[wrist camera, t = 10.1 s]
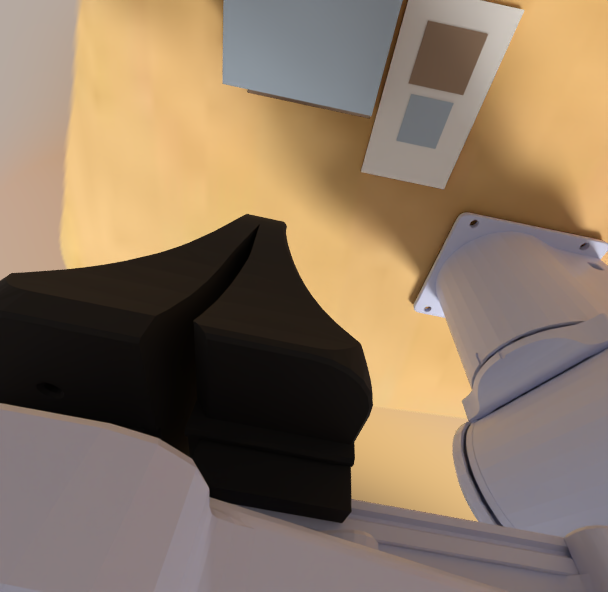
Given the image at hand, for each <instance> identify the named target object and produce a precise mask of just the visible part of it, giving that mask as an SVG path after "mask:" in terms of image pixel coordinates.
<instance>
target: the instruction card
mask: <svg viewBox="0 0 608 592" xmlns="http://www.w3.org/2000/svg"><path fill="white" fill-rule="evenodd" d="M523 12H524V10H522V9H518V8H513V7H509V6H504V5H500V4H496V3H491V2H487V1H482V0H408V2H407V5H406V9H405V13H404V16H403V20H402V24H401V27H400V31H399V34H398V38H397V42H396V45H395V49H394V53H393V56H392V60H391V64H390V67H389V71H388V74H387V78H386V82H385V85H384V89H383V93H382V96H381V100H380V104H379V107H378V111H377V114H376V118H375V122H374V125H373V129H372V133H371V136H370V140H369V144H368V147H367V151H366V154H365V158H364V162H363V165H362V169H361V172H363V173H368V174H373V175H377V176H382V177H387V178H392V179H397V180H401V181H406V182H411V183H416V184H420V185H425V186H430V187H435V188H439V189H444V188H445V186H446V184H447V181H448V179H449V177H450V175H451V172H452V170H453V168H454V166H455V164H456V161H457V159H458V157H459V155H460V152H461V150H462V148H463V146H464V143H465V141H466V139H467V137H468V135H469V132H470V130H471V128H472V126H473V123H474V121H475V119H476V117H477V115H478V112H479V110H480V108H481V106H482V103H483V101H484V99H485V97H486V95H487V92H488V90H489V88H490V86H491V83H492V81H493V79H494V77H495V75H496V72H497V70H498V68H499V66H500V63H501V61H502V59H503V57H504V55H505V52H506V50H507V48H508V46H509V43H510V41H511V39H512V37H513V34H514V32H515V30H516V28H517V26H518V23H519V21H520V19H521V17H522V14H523Z"/></svg>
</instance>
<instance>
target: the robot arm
mask: <svg viewBox="0 0 608 592" xmlns="http://www.w3.org/2000/svg"><path fill="white" fill-rule="evenodd" d="M473 220H477V222H476V223H475V224H474V225H470V223H471V221H473ZM286 228H287V226H286V224H285V223H284V222H282V221H277V220H273V219H268V218H263V217H259V216H254V215H249V214H246V215H244V216H242V217H240V218H238V219H236V220H234V221H233V222H231V223H229V224H227V225H225V226H223V227H222V228H220V229H218V230H216V231H214V232H212V233H210V234H207V235H205V236H203V237H201V238H199V239H196V240H194V241H192V242H190V243H187V244H185V245H182V246H179V247H176V248H173V249H170V250H167V251H164V252H161V253H157V254H153V255H149V256H145V257H140V258H136V259H132V260H127V261H123V262H117V263H111V264H105V265H99V266H91V267H84V268H75V269H66V270H52V271H39V272H26V273H11V274H9V275H8V276H7V277H5V278H4V279H2V280H1V281H0V592H608V266H607V265H606V264H605V263H604V262H603V261H601V260H600V259H601V258H602V257H603V256H604V255H605V253H606V252H607V251H608V243H606V242H605V241H603V240H599V239H594V238H589V237H584V236H580V235H575V234H570V233H565V232H560V231H556V230H551V229H546V228H541V227H536V226H532V225H527V224H522V223H517V222H512V221H508V220H503V219H498V218H493V217H488V216H484V215H479V214H474V213H469V212H465V213H462V214H460V215H459V216H458V218H457V219H456V221H455V223H454V225H453V227H452V229H451V231H450V233H449V235H448V237H447V239H446V241H445V243H444V245H443V247H442V249H441V251H440V253H439V255H438V257H437V259H436V261H435V263H434V265H433V267H432V269H431V271H430V273H429V275H428V277H427V279H426V281H425V283H424V285H423V287H422V289H421V291H420V293H419V294H418V296H417V298H416V300H415V302H414V305H413V306H414V310H415V311H416V312H419V313H424V314H429V315H434V316H439V317H444V318H446V321H447V324H448V326H449V329H450V332H451V335H452V337H453V340H454V343H455V345H456V348H457V351H458V353H459V356H460V359H461V362H462V364H463V367H464V370H465V372H466V375H467V378H468V380H469V383H470V386H471V388H472V391H471V393H470V394H469V395H468V396H467V397H466V398H464V399H463V400H462V403H463V406H464V409H465V412H466V415H467V418H468V421H469V422H466V423H465V424H463V425H461V426H460V427H459V428H458V429H457V431H456V433H455V435H454V438H453V459H454V465H455V470H456V474H457V478H458V482H459V484H460V487H461V490H462V492H463V495H464V497H465V499H466V501H467V503H468V505H469V506H470V509H471V511H472V512H473V514H474V515H475V517H476V519H477V520H478V522H476V521H470V520H465V519H459V518H454V517H448V516H442V515H437V514H432V513H426V512H420V511H415V510H409V509H404V508H398V507H393V506H387V505H381V504H376V503H371V502H365V501H360V500H354V499H351V467H352V466H353V465H354V460H355V454H354V441H355V440H356V438H357V436H358V435H359V433H360V431H361V429H362V428H363V426H364V424H365V422H366V421H367V419H368V417H369V415H370V412H371V409H372V406H373V402H372V386H371V380H370V376H369V371H368V367H367V363H366V360H365V356H364V353H363V349H362V346H361V344H360V343H359V342H358V341H357V340H356V339H355V338H353V337H352V336H351V335H350V334H349V333H347V332H346V331H345V330H344V329H343V328H341V327H340V326H339V325H338V324H337V323H336V322H335V321H334V320H333V319H332V318H331V317H330V316H329V315H328V314H327V313H326V312H325V311H324V310H323V309H322V308H321V307H320V305H319V304H318V303H317V302H316V300H315V299H314V298H313V297H312V295H311V294H310V292H309V291H308V289H307V288H306V286H305V284H304V283H303V281H302V279H301V277H300V275H299V273H298V271H297V269H296V266H295V264H294V262H293V259H292V256H291V253H290V250H289V246H288V242H287V237H286ZM584 243H585V245H584V246H582V247H580V246H581V245H582V244H584ZM425 307H429V308H425Z"/></svg>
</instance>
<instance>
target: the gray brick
mask: <svg viewBox="0 0 608 592" xmlns="http://www.w3.org/2000/svg"><path fill="white" fill-rule="evenodd" d="M402 1H403V0H224V4H223V84H226V85H231V86H235V87H240V88H245V89H249V90H254V91H259V92H263V93H268V94H272V95H277V96H282V97H286V98H291V99H295V100H300V101H305V102H309V103H314V104H318V105H323V106H328V107H332V108H337V109H341V110H346V111H351V112H355V113H360V114H364V115H369V116H372V112H373V108H374V105H375V101H376V97H377V94H378V90H379V86H380V82H381V79H382V75H383V71H384V68H385V64H386V60H387V57H388V53H389V49H390V45H391V42H392V38H393V34H394V31H395V27H396V23H397V19H398V16H399V12H400V8H401V5H402Z"/></svg>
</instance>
